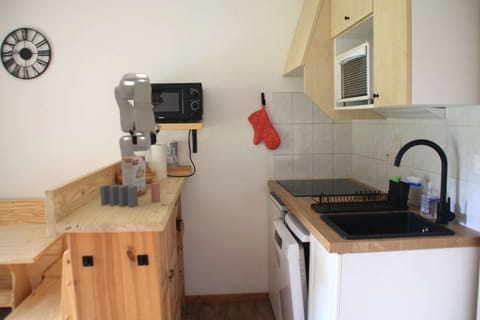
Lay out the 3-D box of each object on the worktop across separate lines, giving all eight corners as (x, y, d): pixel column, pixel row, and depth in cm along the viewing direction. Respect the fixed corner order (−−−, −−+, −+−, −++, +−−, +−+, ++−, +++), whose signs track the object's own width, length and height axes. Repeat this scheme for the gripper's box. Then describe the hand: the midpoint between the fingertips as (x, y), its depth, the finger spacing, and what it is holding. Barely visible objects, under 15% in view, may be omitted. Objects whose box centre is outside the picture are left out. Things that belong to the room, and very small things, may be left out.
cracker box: (134, 198, 188) (133, 158, 186) (123, 197, 189) (122, 157, 187) (146, 193, 202) (145, 155, 200) (136, 192, 203) (135, 155, 201)
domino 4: (128, 206, 169) (127, 187, 168) (134, 204, 174) (133, 186, 173) (131, 207, 168) (131, 188, 167) (137, 204, 173) (137, 186, 172)
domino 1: (101, 205, 173) (100, 186, 172) (107, 202, 178) (107, 184, 177) (104, 205, 173) (103, 186, 172) (111, 203, 177) (110, 184, 177)
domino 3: (119, 206, 170) (118, 187, 169) (125, 204, 175) (124, 185, 174) (122, 206, 170) (121, 187, 169) (128, 204, 175) (128, 185, 174)
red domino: (151, 202, 179) (150, 184, 178) (156, 200, 183) (156, 182, 183) (154, 202, 178) (154, 184, 177) (160, 200, 183) (159, 182, 182)
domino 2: (110, 205, 172) (109, 186, 171) (116, 203, 177) (115, 185, 176) (113, 205, 171) (112, 187, 170) (119, 203, 176) (119, 185, 175)
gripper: (155, 108, 178) (157, 143, 179) (121, 107, 166) (123, 144, 168) (163, 107, 172) (165, 143, 174) (129, 106, 161) (130, 145, 162)
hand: (144, 144), depth 171 cm, fingers open, 9 cm apart
